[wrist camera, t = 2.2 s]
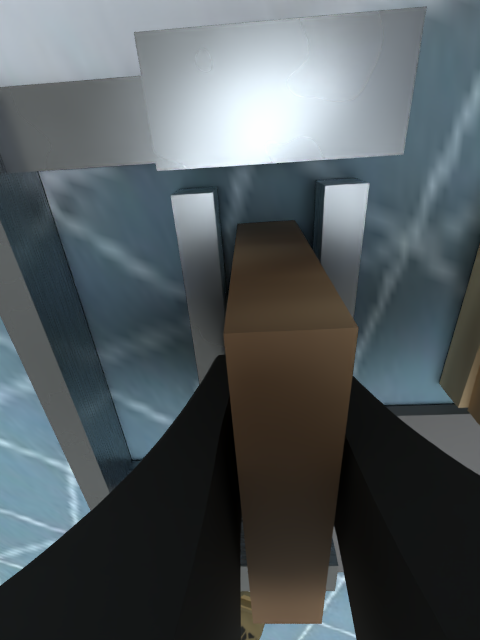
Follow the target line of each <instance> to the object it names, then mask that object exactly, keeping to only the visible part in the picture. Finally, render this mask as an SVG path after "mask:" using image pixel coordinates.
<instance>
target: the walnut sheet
mask: <svg viewBox="0 0 480 640" xmlns="http://www.w3.org/2000/svg"><path fill="white" fill-rule="evenodd" d="M223 335H224V345H225V354H226V364H227V374H228V384H229V393H230V403H231V413H232V422H233V432H234V442H235V452H236V461H237V471H238V481H239V491H240V500H241V510H242V520H243V529H244V539H245V549H246V559H247V568H248V578H249V588H250V598H251V607H252V617H253V624H322V616H323V608H324V600H325V592H326V584H327V576H328V568H329V560H330V552H331V544H332V536H333V528H334V520H335V512H336V504H337V496H338V488H339V480H340V472H341V464H342V456H343V448H344V440H345V432H346V424H347V416H348V408H349V400H350V392H351V384H352V376H353V368H354V360H355V352H356V344H357V336H358V326H357V324H356V323H355V321H354V319H353V318H352V316H351V314H350V313H349V311H348V309H347V307H346V306H345V304H344V302H343V301H342V299H341V297H340V296H339V294H338V292H337V291H336V289H335V287H334V285H333V284H332V282H331V280H330V279H329V277H328V275H327V274H326V272H325V270H324V269H323V267H322V265H321V263H320V262H319V260H318V258H317V257H316V255H315V253H314V252H313V250H312V248H311V247H310V245H309V243H308V241H307V240H306V238H305V236H304V235H303V233H302V231H301V230H300V228H299V226H298V225H297V223H296V221H295V220H290V221H274V222H257V223H240V224H238V225H237V233H236V240H235V248H234V256H233V263H232V271H231V279H230V287H229V294H228V302H227V310H226V317H225V325H224V333H223Z"/></svg>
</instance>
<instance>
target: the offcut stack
mask: <svg viewBox="0 0 480 640" xmlns="http://www.w3.org/2000/svg"><path fill="white" fill-rule="evenodd" d="M439 384H440V385H441V387H442V388H443V389H444V390H445V392H446V393H447V394H448V396H449V397H450V398H451V399H452V401H453V402H454V403H455V404H456V406H457V407H458V408H468V410H467V411H468V412H469V413H470V414H471V415H472V417H473V418H474V419H475V420H476V422H477V423H478V424H479V425H480V245H479V249H478V252H477V256H476V259H475V263H474V266H473V269H472V273H471V276H470V280H469V283H468V287H467V290H466V293H465V297H464V300H463V304H462V307H461V311H460V314H459V318H458V321H457V324H456V328H455V331H454V335H453V338H452V342H451V345H450V349H449V352H448V355H447V359H446V362H445V366H444V369H443V373H442V376H441V379H440V383H439Z"/></svg>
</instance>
